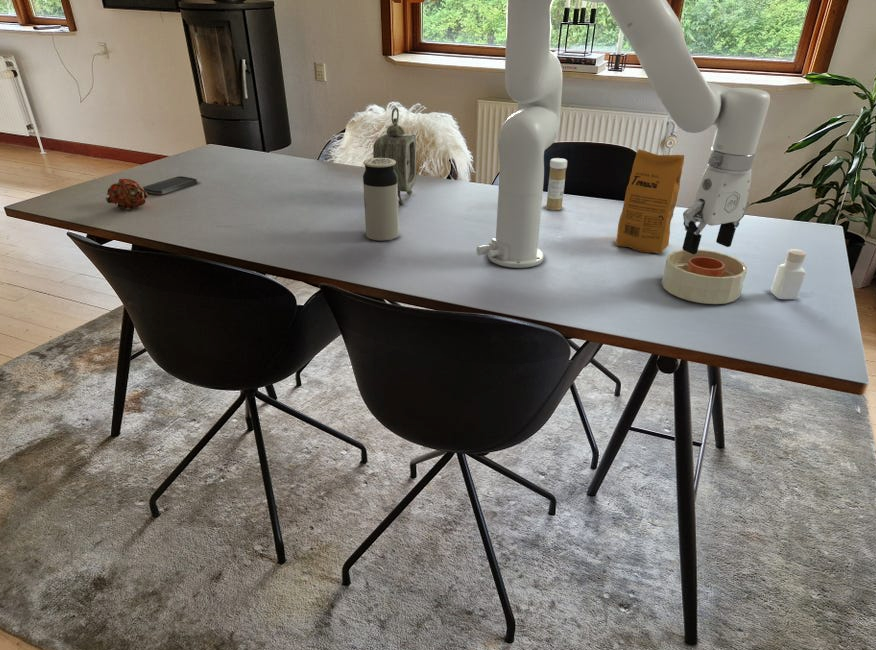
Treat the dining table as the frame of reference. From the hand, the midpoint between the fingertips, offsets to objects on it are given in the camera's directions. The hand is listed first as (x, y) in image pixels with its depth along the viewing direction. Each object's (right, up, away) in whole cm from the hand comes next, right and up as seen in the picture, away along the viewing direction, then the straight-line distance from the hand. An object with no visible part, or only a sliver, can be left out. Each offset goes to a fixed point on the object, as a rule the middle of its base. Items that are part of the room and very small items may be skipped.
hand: (706, 248), depth 125 cm
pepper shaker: (+17, -9, +3) cm, 19 cm away
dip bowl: (0, -7, +4) cm, 9 cm away
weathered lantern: (-67, +24, +55) cm, 90 cm away
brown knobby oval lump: (-138, +19, +45) cm, 146 cm away
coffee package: (-5, +5, +27) cm, 27 cm away
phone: (-135, +29, +62) cm, 151 cm away
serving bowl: (0, -8, +4) cm, 9 cm away
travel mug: (-68, +8, +29) cm, 74 cm away
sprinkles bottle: (-22, +20, +51) cm, 59 cm away
